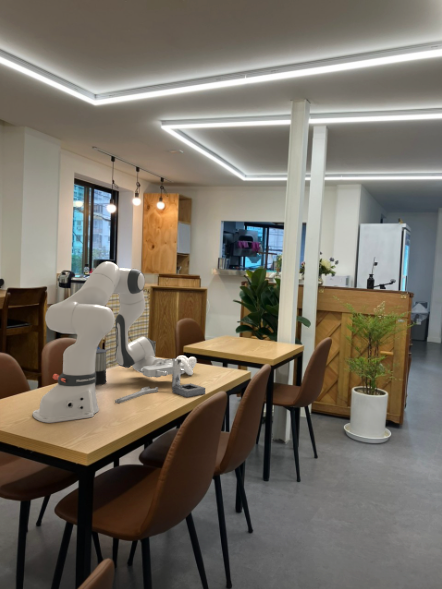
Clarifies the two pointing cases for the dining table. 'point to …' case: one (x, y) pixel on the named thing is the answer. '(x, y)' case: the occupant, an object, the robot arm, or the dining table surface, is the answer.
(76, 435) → the dining table surface
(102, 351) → the milk frother
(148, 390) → the adjustable wrench
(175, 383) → the keyed metal peg
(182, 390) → the socket block
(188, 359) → the white knot
